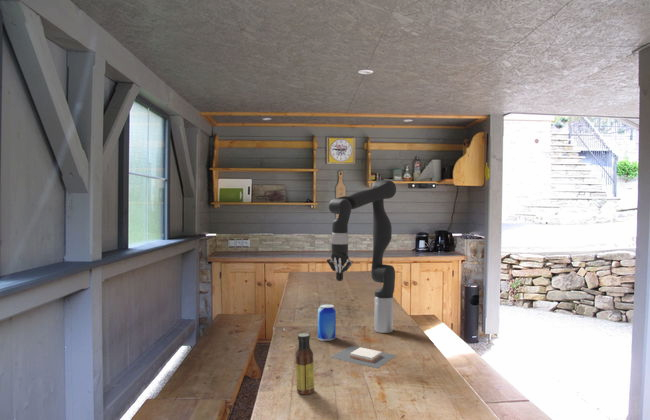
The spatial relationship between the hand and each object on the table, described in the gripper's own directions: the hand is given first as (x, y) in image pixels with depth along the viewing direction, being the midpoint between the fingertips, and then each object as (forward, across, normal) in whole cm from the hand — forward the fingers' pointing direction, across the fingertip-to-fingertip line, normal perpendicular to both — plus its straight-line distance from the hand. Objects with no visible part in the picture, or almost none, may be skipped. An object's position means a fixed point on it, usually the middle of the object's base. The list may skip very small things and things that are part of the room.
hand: (339, 280), depth 211 cm
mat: (+29, -18, +10) cm, 35 cm away
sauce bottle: (+29, -17, +51) cm, 61 cm away
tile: (+27, -14, +10) cm, 32 cm away
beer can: (+29, +8, -2) cm, 30 cm away
